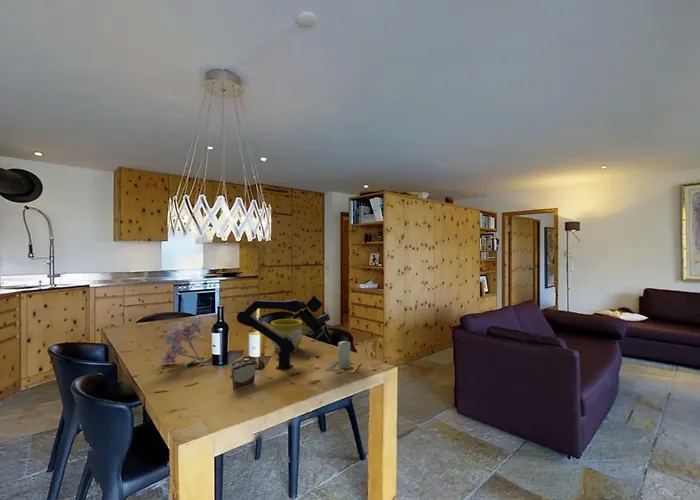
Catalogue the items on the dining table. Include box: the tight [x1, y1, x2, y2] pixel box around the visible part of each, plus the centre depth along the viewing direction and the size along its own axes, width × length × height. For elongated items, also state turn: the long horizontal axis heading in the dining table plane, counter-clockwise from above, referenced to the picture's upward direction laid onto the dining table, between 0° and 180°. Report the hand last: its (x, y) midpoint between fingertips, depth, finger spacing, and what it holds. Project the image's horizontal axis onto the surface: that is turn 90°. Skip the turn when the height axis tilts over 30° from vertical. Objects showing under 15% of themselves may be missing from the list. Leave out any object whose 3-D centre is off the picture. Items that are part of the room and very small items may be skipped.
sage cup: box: [337, 340, 351, 369], centre depth 177 cm, size 6×6×12 cm
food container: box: [229, 358, 258, 391], centre depth 152 cm, size 12×6×10 cm, turn 141°
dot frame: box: [325, 360, 342, 372], centre depth 177 cm, size 14×14×1 cm
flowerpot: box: [270, 318, 303, 353], centre depth 206 cm, size 18×18×16 cm
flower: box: [159, 315, 205, 368], centre depth 180 cm, size 20×22×25 cm
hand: (331, 341), depth 177 cm, fingers open, 9 cm apart
